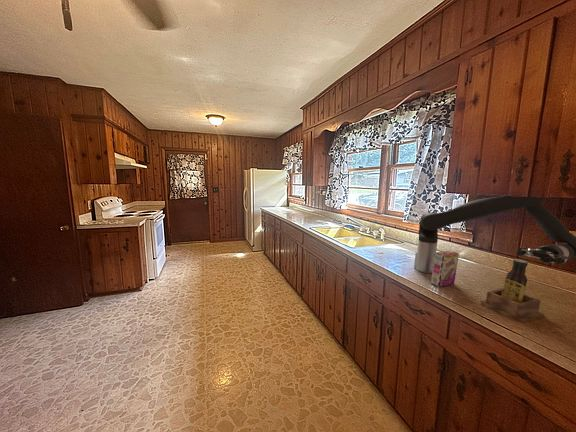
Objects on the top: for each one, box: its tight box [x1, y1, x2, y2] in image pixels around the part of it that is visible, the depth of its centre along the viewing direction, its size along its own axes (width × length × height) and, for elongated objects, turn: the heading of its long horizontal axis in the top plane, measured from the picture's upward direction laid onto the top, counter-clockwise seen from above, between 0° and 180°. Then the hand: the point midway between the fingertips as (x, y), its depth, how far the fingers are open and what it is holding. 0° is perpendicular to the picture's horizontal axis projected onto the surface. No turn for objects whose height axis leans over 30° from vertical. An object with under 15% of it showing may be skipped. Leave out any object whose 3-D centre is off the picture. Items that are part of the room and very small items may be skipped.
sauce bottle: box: [501, 258, 529, 303], centre depth 95 cm, size 7×6×20 cm
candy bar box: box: [430, 250, 460, 288], centre depth 118 cm, size 11×5×16 cm, turn 111°
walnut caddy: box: [480, 287, 544, 324], centre depth 96 cm, size 14×14×6 cm
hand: (531, 256), depth 100 cm, fingers open, 8 cm apart
